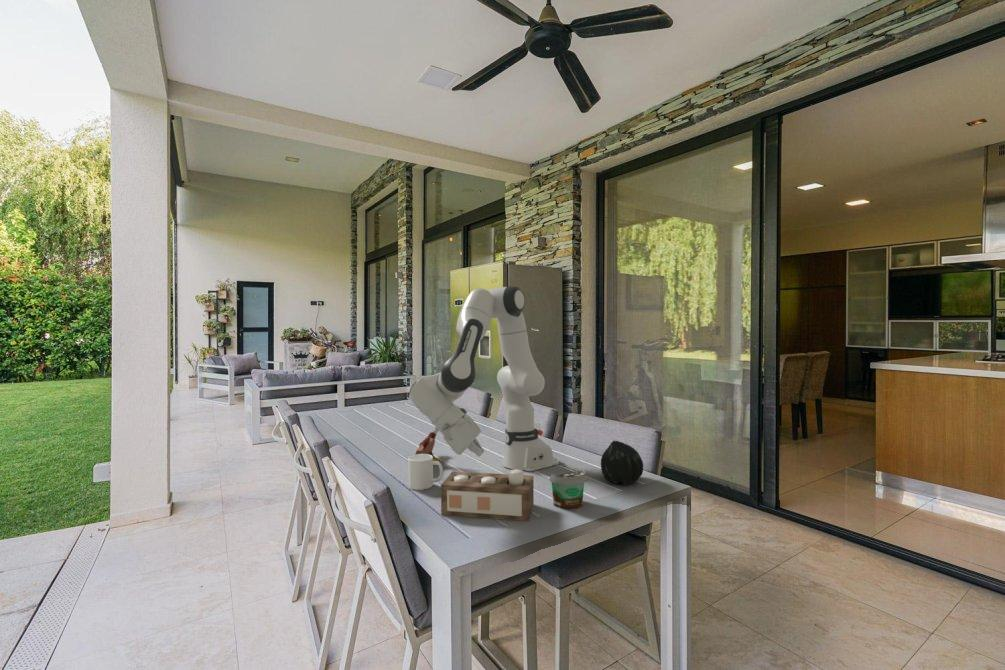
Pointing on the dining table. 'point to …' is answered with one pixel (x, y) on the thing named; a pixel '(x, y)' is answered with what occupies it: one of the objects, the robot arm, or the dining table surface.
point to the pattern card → (484, 503)
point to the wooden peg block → (498, 487)
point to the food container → (568, 489)
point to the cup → (422, 471)
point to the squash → (621, 463)
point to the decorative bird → (428, 445)
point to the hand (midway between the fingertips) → (482, 453)
